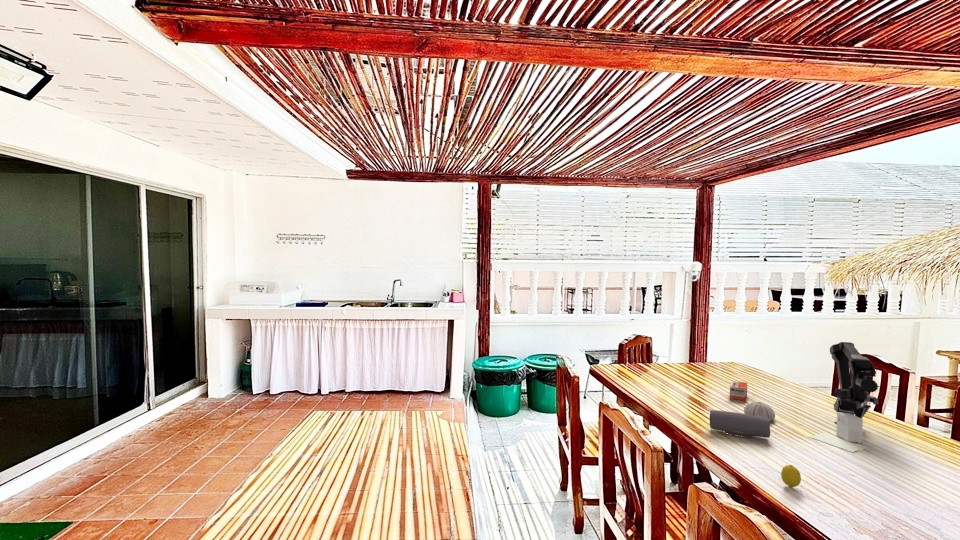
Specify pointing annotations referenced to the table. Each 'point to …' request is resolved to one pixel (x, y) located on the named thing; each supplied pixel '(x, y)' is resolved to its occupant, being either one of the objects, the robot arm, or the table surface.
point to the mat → (838, 442)
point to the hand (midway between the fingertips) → (858, 420)
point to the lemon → (791, 476)
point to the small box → (849, 427)
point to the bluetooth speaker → (740, 424)
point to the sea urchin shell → (760, 410)
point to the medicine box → (738, 391)
